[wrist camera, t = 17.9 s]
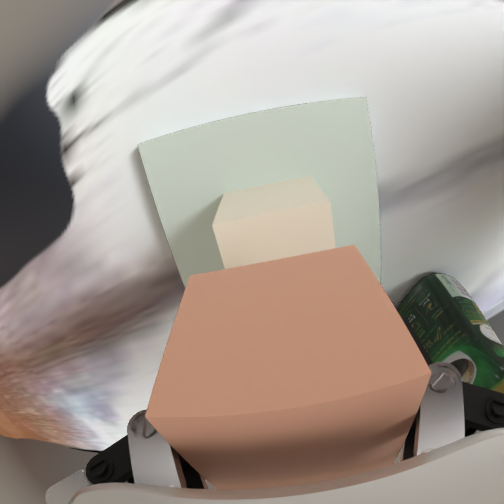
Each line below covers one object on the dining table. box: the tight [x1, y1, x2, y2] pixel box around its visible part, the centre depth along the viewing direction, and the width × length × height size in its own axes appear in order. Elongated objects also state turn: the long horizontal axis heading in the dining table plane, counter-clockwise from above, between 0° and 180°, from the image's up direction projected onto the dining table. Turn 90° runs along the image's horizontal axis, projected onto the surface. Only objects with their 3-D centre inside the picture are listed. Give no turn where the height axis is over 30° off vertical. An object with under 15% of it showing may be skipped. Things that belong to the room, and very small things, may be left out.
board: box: [137, 97, 381, 288], centre depth 22 cm, size 16×16×1 cm
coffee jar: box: [397, 273, 504, 394], centre depth 18 cm, size 10×8×19 cm
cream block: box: [212, 176, 336, 269], centre depth 19 cm, size 6×6×6 cm
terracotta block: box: [145, 245, 431, 490], centre depth 9 cm, size 6×6×6 cm
